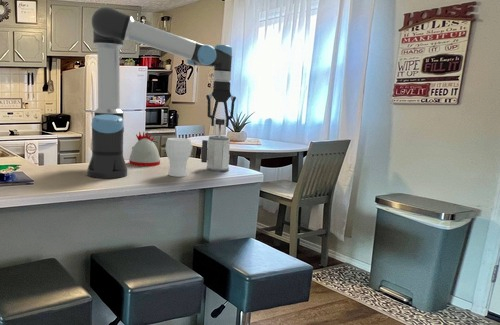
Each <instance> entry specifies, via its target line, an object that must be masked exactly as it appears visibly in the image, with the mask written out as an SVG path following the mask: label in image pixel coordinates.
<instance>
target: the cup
mask: <svg viewBox="0 0 500 325" xmlns="http://www.w3.org/2000/svg"><path fill="white" fill-rule="evenodd" d="M192 147H193V146H192V141H191V139H190V138H185V137H168V138H167V139H166V143H165V153H166V155H167V158H168V161H169V169H168V176H171V177H178V178H179V177H181V178H182V177H187V176H188V170H187V169H188V168H187V164H188V160H189V158H190V157H191V153H192V150H193V149H192Z"/></svg>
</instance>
